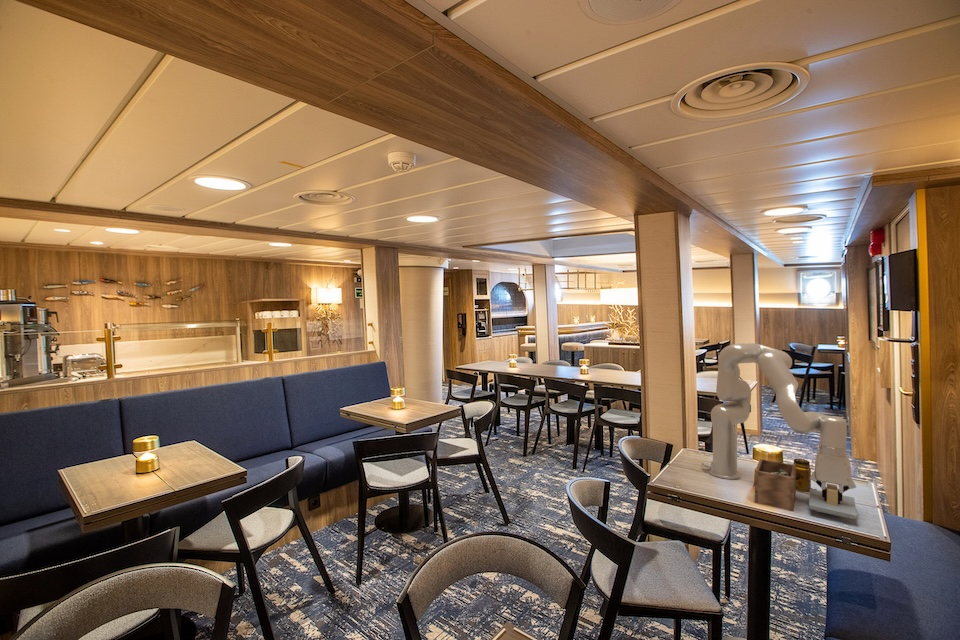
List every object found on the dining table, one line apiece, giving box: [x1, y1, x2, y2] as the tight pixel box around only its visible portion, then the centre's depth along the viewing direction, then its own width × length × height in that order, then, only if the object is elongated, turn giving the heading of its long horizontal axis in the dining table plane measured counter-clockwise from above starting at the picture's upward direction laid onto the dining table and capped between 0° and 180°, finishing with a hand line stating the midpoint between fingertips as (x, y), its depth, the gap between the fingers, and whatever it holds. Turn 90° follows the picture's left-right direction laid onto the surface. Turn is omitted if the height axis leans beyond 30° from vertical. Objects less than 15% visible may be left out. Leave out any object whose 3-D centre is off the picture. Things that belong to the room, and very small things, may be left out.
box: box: [754, 458, 797, 512], centre depth 167 cm, size 12×18×12 cm, turn 142°
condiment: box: [793, 458, 818, 495], centre depth 177 cm, size 7×8×12 cm
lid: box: [808, 482, 859, 520], centre depth 156 cm, size 13×19×7 cm
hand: (831, 500), depth 156 cm, fingers closed on lid, 3 cm apart
